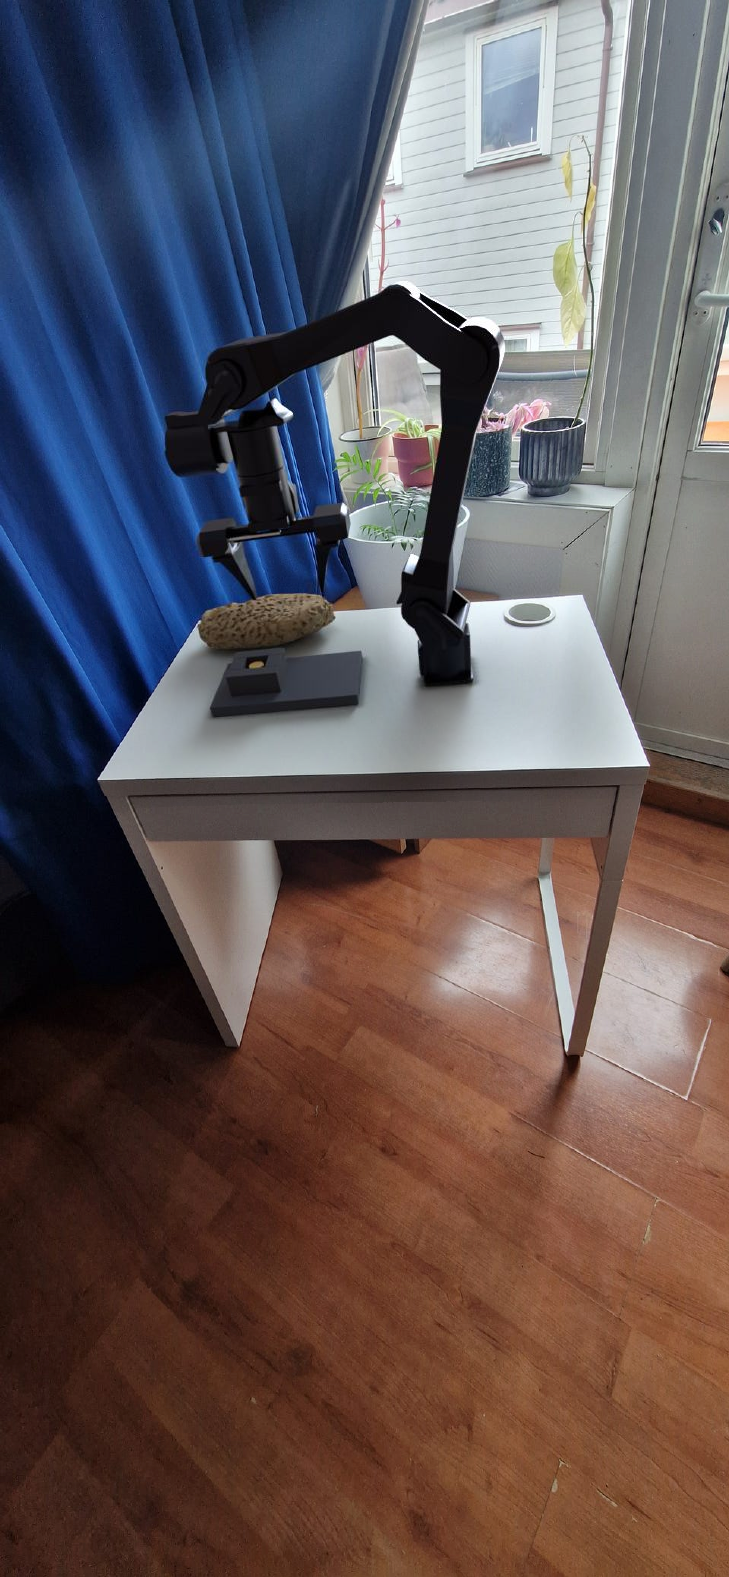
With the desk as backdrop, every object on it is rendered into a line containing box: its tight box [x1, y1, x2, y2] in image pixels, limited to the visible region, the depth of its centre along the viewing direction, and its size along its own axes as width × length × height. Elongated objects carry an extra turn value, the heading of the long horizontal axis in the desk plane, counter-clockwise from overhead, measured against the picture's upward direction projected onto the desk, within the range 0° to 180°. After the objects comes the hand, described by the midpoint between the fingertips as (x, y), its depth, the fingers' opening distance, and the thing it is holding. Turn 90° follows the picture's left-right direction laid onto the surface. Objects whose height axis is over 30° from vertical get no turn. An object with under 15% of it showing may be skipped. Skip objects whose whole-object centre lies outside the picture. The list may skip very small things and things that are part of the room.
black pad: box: [226, 647, 288, 696], centre depth 90 cm, size 7×7×3 cm
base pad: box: [209, 650, 364, 718], centre depth 90 cm, size 20×12×4 cm, turn 87°
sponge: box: [196, 592, 336, 650], centre depth 102 cm, size 13×8×20 cm
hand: (288, 595), depth 87 cm, fingers open, 9 cm apart
